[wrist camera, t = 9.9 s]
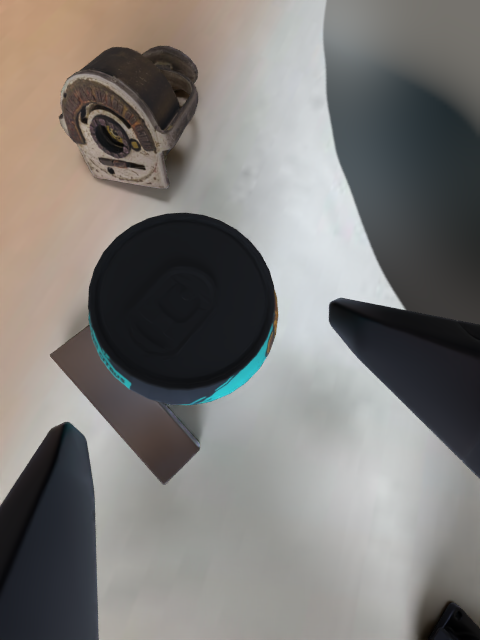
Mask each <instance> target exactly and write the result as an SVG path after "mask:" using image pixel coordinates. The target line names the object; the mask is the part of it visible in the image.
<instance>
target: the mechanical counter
mask: <svg viewBox="0 0 480 640" xmlns="http://www.w3.org/2000/svg"><path fill="white" fill-rule="evenodd" d="M197 77H198V71H197V67H196V65H195V64H194V63H193V61H192V60H191V59H190V58H189V57H188V56H187V55H185V54H184V53H183V52H181V51H180V50H177V49H175V48H172V47H170V46H157V47H154V48H151V49H149V50H148V51H146V52H145V53H143V54H140V53H139V52H137V51H134V50H132V49H129V48H122V47H112V48H110V49H108V50H106V51H104V52H102V53H101V54H100V55H99V56H98V57H96V58H95V59H94V60H93V61H91V62H90V63H89V64H88V65H86V66H85V67H84V68H83V69H81V70H80V71H79V72H76V73H74V74H73V75H72V76H70V77H69V78H68V79H67V80H66V82H65V84H64V87H63V89H62V91H61V108H62V114H61V115H60V116H59V120H60V123H61V126H62V128H63V129H64V131H65V132H66V134H67V135H68V136H70V138H71V139H72V140H73V141H74V142H75V143H76V144H77V146H78V147H79V149H80V151H81V153H82V155H83V157H84V159H85V161H86V163H87V165H88V167H89V169H90V172H91V173H92V175H93V177H96V178H101V179H107V180H113V181H119V182H124V183H131V184H137V185H142V186H148V187H155V188H162V189H166V188H168V187H169V180H168V176H167V171H166V165H165V160H166V158H167V154H168V153H169V151H170V150H171V149H172V148H173V147H174V146H175V144H176V143H177V141H178V139H179V138H180V136H181V134H182V132H183V130H184V129H185V127H186V126H187V124H188V123H189V121H190V120H191V118H192V117H193V115H194V114H195V111H196V107H197V104H198V93H197V90H196V87H195V85H194V83H195V81H196V80H197ZM180 89H182V90H184V91H186V92H187V93H188V94H189V95H190V96H189V98H188V100H187V101H186V103H185V104H184V105H183V106H182V108H181V109H180V106H179V103H178V100H177V97H176V95H175V93H174V91H173V90H180Z"/></svg>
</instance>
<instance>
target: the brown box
mask: <svg viewBox="0 0 480 640" xmlns="http://www.w3.org/2000/svg"><path fill="white" fill-rule="evenodd" d="M50 357H51V358H52V359H53V360H54V361H55V362H56V363H57V365H58V366H59V367H60V368H61V369H62V370H63V371H64V373H65V374H66V375H67V376H68V377H69V378H70V379H71V380H72V382H73V383H74V384H75V385H76V386H77V387H78V388H79V390H80V391H81V392H82V393H83V394H84V395H85V396H86V398H87V399H88V400H89V401H90V402H91V403H92V404H93V406H94V407H95V408H96V409H97V410H98V411H99V412H100V413H101V415H102V416H103V417H104V418H105V419H106V420H107V421H108V423H109V424H110V425H111V426H112V427H113V428H114V429H115V431H116V432H117V433H118V434H119V435H120V436H121V437H122V438H123V440H124V441H125V442H126V443H127V444H128V445H129V446H130V448H131V449H132V450H133V451H134V452H135V453H136V454H137V456H138V457H139V458H140V459H141V460H142V461H143V462H144V463H145V465H146V466H147V467H148V468H149V469H150V470H151V471H152V473H153V474H154V475H155V476H156V477H157V478H158V479H159V481H160V482H161V483H162V484H163V485H165V484H166V483H167V482H168V481H169V480H170V479H171V478H172V477H173V476H174V475H175V474H176V473H177V472H178V471H179V470H180V469H181V468H182V467H183V466H184V465H185V464H186V463H187V462H188V461H189V460H190V459H191V458H192V457H193V456H194V455H195V454H196V453H197V452H198V451H199V450H200V443H199V442H198V441H197V439H196V438H195V437H194V436H193V435H192V434H191V433H190V432H189V430H188V429H187V428H186V427H185V426H184V425H183V424H182V423H181V422H180V420H179V419H178V418H177V417H176V416H175V415H174V414H173V413H172V411H171V410H170V409H169V408H168V407H167V406H166V405H165V404H164V403H162V402H158V401H154V400H150V399H147V398H145V397H144V396H142V395H140V394H138V393H136V392H134V391H132V390H130V389H129V388H127V387H126V386H125V385H124V384H123V383H121V382H120V381H119V380H118V379H117V378H115V377H114V376H113V374H112V373H111V372H110V370H109V369H108V368H107V367H106V365H105V364H104V363H103V361H102V360H101V358H100V356H99V353H98V351H97V349H96V347H95V344H94V342H93V340H92V335H91V330H90V325H88V326H87V327H86V328H84V329H83V330H82V331H80V332H79V333H78V334H77V335H75V336H74V337H73V338H71V339H70V340H69V341H67V342H66V343H65V344H63V345H62V346H61V347H60V348H58V349H57V350H56V351H54V352H53V353H52V354H50Z"/></svg>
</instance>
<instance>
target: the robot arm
mask: <svg viewBox="0 0 480 640" xmlns="http://www.w3.org/2000/svg"><path fill="white" fill-rule="evenodd" d="M329 322H330V325H331V326H332V327H333V329H334V330H335V331H336V332H337V334H338V335H339V336H340V337H341V338H342V340H343V341H344V342H345V343H346V345H347V346H348V347H349V348H350V349H351V351H352V352H353V353H354V354H355V355H356V356H357V358H358V359H359V360H360V361H361V362H362V363H363V364H364V365H365V366H366V367H367V368H368V369H369V370H370V371H371V372H372V373H374V374H375V375H376V376H377V377H378V378H379V379H380V380H381V381H382V382H383V383H384V384H385V385H386V386H387V387H388V388H389V389H390V390H391V391H392V392H393V393H394V394H395V395H396V396H397V397H398V398H399V399H400V400H401V401H402V402H403V403H404V404H405V405H406V406H407V407H408V408H409V409H410V410H411V411H412V412H413V413H414V414H415V415H416V416H417V417H418V418H419V419H420V420H421V421H422V422H423V423H424V424H425V425H426V426H427V427H428V428H429V429H430V430H431V431H432V432H433V433H434V434H435V435H436V436H437V437H438V438H439V439H440V440H441V441H442V442H443V443H444V444H445V445H446V446H447V447H448V448H449V449H450V450H451V451H452V452H453V453H454V454H455V455H457V456H458V457H459V458H460V459H461V460H463V463H464V464H465V465H466V466H467V467H468V468H469V469H470V470H471V471H472V472H473V473H474V474H475V475H477V476H478V477H479V478H480V325H479V324H473V323H468V322H463V321H456V320H452V319H447V318H443V317H437V316H432V315H426V314H422V313H416V312H412V311H407V310H401V309H396V308H391V307H386V306H381V305H376V304H371V303H365V302H360V301H355V300H350V299H345V298H338V299H336V300H334V301H332V302H330V304H329ZM0 640H99V634H98V599H97V563H96V528H95V497H94V486H93V479H92V473H91V466H90V459H89V453H88V446H87V441H86V438H85V437H84V435H83V434H82V433H81V432H80V431H78V430H77V429H76V428H75V427H74V426H73V425H72V424H71V423H69V422H64V423H62V424H60V425H58V426H55V427H53V428H52V429H51V430H50V431H49V432H48V434H47V435H46V437H45V439H44V440H43V442H42V443H41V445H40V446H39V448H38V449H37V451H36V452H35V454H34V455H33V457H32V458H31V460H30V461H29V463H28V464H27V466H26V467H25V469H24V471H23V472H22V474H21V475H20V477H19V478H18V480H17V481H16V483H15V484H14V486H13V487H12V489H11V490H10V492H9V493H8V495H7V496H6V498H5V500H4V501H3V503H2V504H1V506H0ZM428 640H480V628H479V627H478V626H477V625H476V624H475V623H474V622H473V621H472V619H471V618H470V617H469V616H468V615H467V614H466V613H465V612H464V611H463V609H461V608H460V607H459V606H458V605H457V604H456V603H453V602H452V603H450V604H449V605H448V607H447V608H446V610H445V612H444V613H443V615H442V617H441V618H440V620H439V622H438V624H437V625H436V627H435V629H434V630H433V632H432V634H431V635H430V637H429V639H428Z"/></svg>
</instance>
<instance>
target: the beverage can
mask: <svg viewBox="0 0 480 640" xmlns="http://www.w3.org/2000/svg"><path fill="white" fill-rule="evenodd" d="M88 309H89V324H90V330H91V335H92V340H93V342H94V344H95V347H96V349H97V351H98V353H99V356H100V358H101V360H102V361H103V363H104V364H105V365H106V367H107V368H108V369H109V370H110V372H111V373H112V374H113V376H114V377H115V378H117V379H118V380H119V381H120V382H121V383H123V384H124V385H125V386H126V387H127V388H129V389H130V390H132V391H134V392H136V393H138V394H140V395H142V396H144V397H145V398H147V399H150V400H154V401H158V402H162V403H166V404H170V405H194V404H200V403H205V402H211V401H213V400H216V399H218V398H221V397H223V396H226V395H228V394H230V393H232V392H233V391H235V390H236V389H237V388H239V387H240V386H242V385H243V384H245V383H246V382H247V381H248V380H249V379H250V378H251V377H252V376H253V375H254V374H255V373H256V372H257V371H258V370H259V369H260V367H261V365H262V364H263V362H264V360H265V359H266V357H267V356H268V354H269V352H270V349H271V347H272V344H273V341H274V338H275V335H276V329H277V321H278V307H277V297H276V293H275V290H274V285H273V281H272V278H271V275H270V271H269V269H268V267H267V265H266V263H265V261H264V259H263V257H262V255H261V254H260V253H259V251H258V250H257V249H256V248H255V247H254V245H253V244H252V243H251V242H250V241H249V240H248V239H247V238H246V237H245V236H243V235H242V234H241V233H240V232H239V231H237V230H236V229H234V228H233V227H231V226H229V225H227V224H225V223H224V222H222V221H220V220H217V219H214V218H211V217H208V216H205V215H199V214H191V213H171V214H164V215H160V216H156V217H152V218H148V219H146V220H144V221H142V222H140V223H137V224H135V225H133V226H131V227H130V228H129V229H127V230H126V231H125V232H123V233H122V234H121V235H119V236H118V237H117V238H116V239H115V240H114V241H113V242H112V243H111V244H110V245H109V247H108V248H107V249H106V250H105V251H104V252H103V254H102V256H101V258H100V260H99V261H98V263H97V265H96V267H95V269H94V272H93V276H92V279H91V283H90V286H89V300H88Z"/></svg>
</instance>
